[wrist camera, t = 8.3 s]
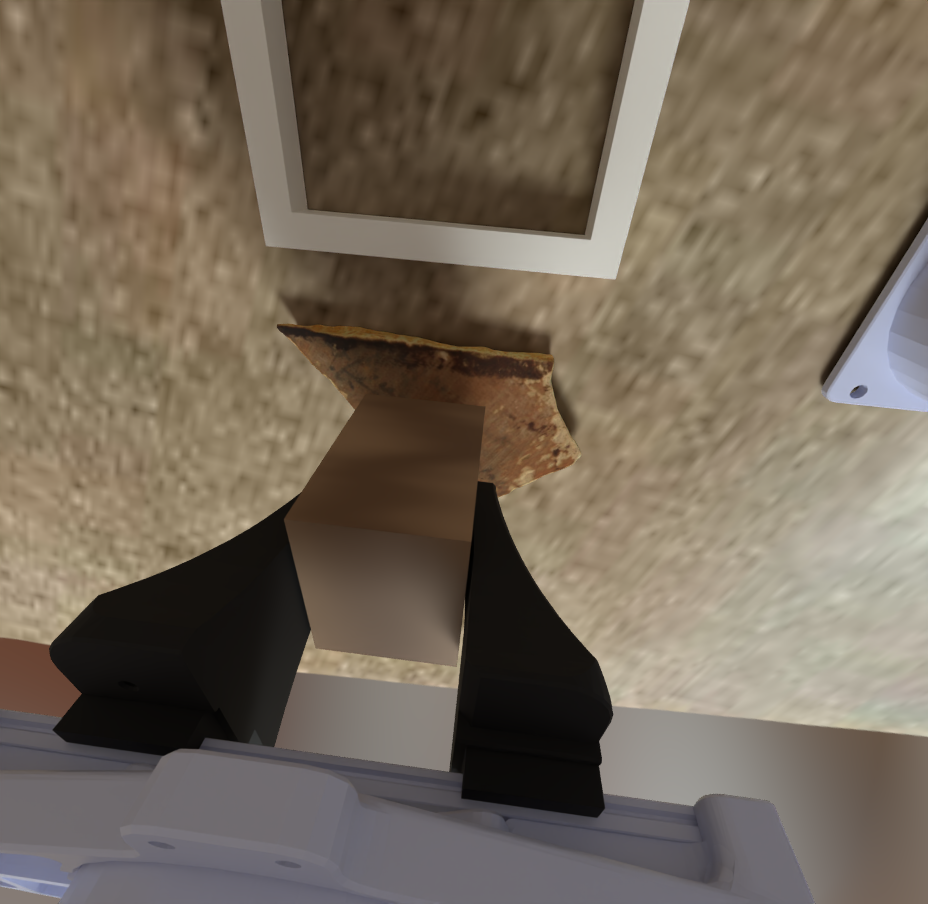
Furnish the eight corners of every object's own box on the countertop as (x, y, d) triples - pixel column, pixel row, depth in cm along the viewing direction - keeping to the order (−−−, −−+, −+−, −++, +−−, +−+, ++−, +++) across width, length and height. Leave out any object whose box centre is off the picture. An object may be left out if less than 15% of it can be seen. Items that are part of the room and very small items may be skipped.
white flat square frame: (775, -389, 7) (817, -478, 6) (607, 271, 14) (615, 279, 13) (177, -413, 8) (128, -500, 7) (283, 240, 14) (265, 245, 13)
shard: (292, 314, 16) (270, 328, 14) (449, 177, 13) (440, 178, 11) (455, 497, 20) (450, 522, 19) (599, 428, 17) (607, 452, 16)
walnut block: (485, 406, 13) (471, 541, 8) (472, 517, 16) (456, 666, 11) (365, 393, 14) (283, 519, 9) (374, 505, 16) (315, 648, 11)
